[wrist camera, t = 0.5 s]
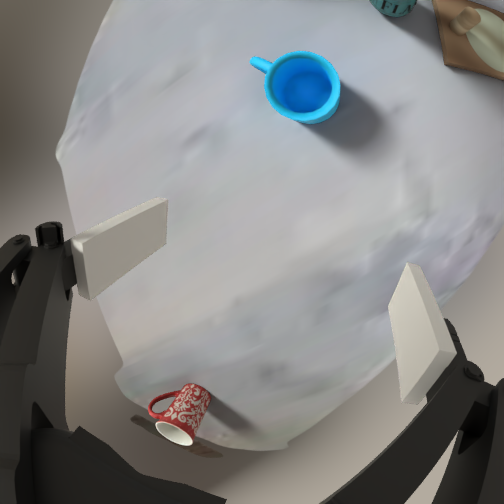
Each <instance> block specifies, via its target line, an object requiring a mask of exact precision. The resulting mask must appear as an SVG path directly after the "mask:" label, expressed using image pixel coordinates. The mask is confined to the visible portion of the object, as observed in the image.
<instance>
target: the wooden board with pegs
mask: <svg viewBox="0 0 504 504" xmlns="http://www.w3.org/2000/svg"><path fill="white" fill-rule="evenodd" d="M432 3H433V7H434V11H435V15H436V19H437V24H438V29H439V34H440V39H441V45H442V51H443V58H444V65H448V66H453V67H457V68H461V69H465V70H469V71H473V72H477V73H480V74H484V75H487V76H491V77H494V78H497V79H500V80H503V81H504V13H501V12H499V11H496V10H494V9H491V8H489V7H486V6H483V5H480V4H477V3H475V2H471V1H468V0H432Z"/></svg>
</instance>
